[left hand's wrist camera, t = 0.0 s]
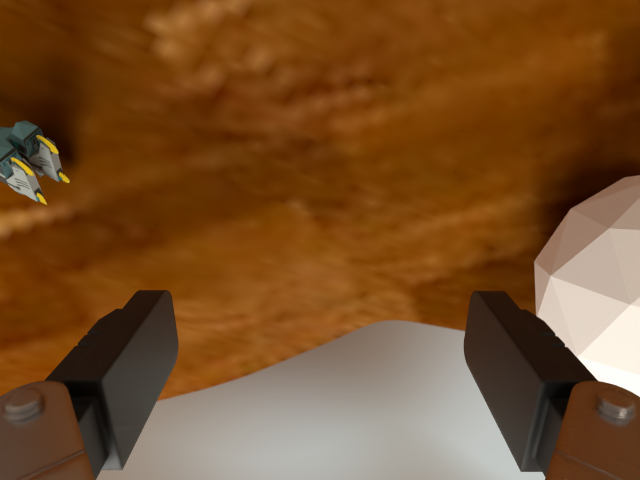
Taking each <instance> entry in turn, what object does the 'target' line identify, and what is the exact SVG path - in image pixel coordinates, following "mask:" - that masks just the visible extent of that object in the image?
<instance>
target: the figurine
mask: <svg viewBox="0 0 640 480" xmlns="http://www.w3.org/2000/svg"><path fill="white" fill-rule="evenodd" d="M58 154H59V153H58V150H57V149H56V146H55V143H54V142H53V141H51V140H50V139H49V138H46V139H45V138H44V136H43V133H42V130H41V128H40V127H38V126H36V125H34V124H32V123H30V122H28V121H21V122H16V124H15V126H14V127H0V181H2V182H4V183H5V184H7V185H9V186H10V187H11V188H13V189H14V190H15V191H16V192H18V193H19V194H20V195H21V194H25V195H27V196H28V197H30V198H32V199H34V200H35V201H37V202H38V201H40V202H42V203H44V204H46V201H45V199H44V197H43V196H44V195H43V193H42V191H41V188H40V186H39V184H38V181H37V179H36V177H35V174H34V172H33V170H32V168H33V169H34V171H35V172H36V173H37V174H38V175H39V176H40V177H41V176H42V175H44V174H45V175H47V176H49V177H51V178H52V179H54V180H56V181H58V182H59V181H60V180H62V181H64V182H66V183H70V182H69V180H68V178H67V177H66V176H65V175H64V173H63V171H62V167H61V164H60V160H59V156H58ZM46 205H47V204H46Z"/></svg>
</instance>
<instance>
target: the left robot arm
mask: <svg viewBox="0 0 640 480" xmlns="http://www.w3.org/2000/svg"><path fill="white" fill-rule="evenodd" d="M177 355H178V336H177V329H176V322H175V315H174V309H173V302H172V297H171V294H170V292H169V291H167V290H139V291H137V292H136V293H135V294H134V296H133V297H132V298H131V299H130V300H129V301H128V303H127V304H126V305H125V306H124V307H123V309H116V310H114V311H112V312H111V313H109V314H108V315H106V316H104V317H103V318H101V319H99V320H98V321H97V323H96V324H95V325H94V326H93V327H92V328H91V329H90V330H89V331H88V334H87V335H85V336H84V337H83V338H82V339H81V340H80V341H79V343H78V346H75V347H74V348H73V349H72V350H71V352H70V353H69V354H68V355H67V356H66V357H65V358H64V359H63V360H62V362H61V363H60V364H59V365H58V366H57V367H56V368H55V369H54V371H53V372H52V373H51V374H50V375H49V376H48V377H47V378H46V379H45V381H39V382H34V383H30V384H26V385H23V386H21V387H18V388H16V389H13V390H11V391H9V392H7V393H6V394H4V395H2V396H1V397H0V480H96V478H97V477H98V475H99V473H100V471H101V470H122V469H123V467H124V465H125V464H126V461H127V459H128V457H129V455H130V453H131V451H132V449H133V447H134V445H135V443H136V441H137V439H138V437H139V435H140V433H141V431H142V429H143V427H144V425H145V423H146V421H147V419H148V417H149V415H150V413H151V411H152V409H153V407H154V405H155V403H156V401H157V399H158V397H159V395H160V393H161V391H162V389H163V387H164V385H165V383H166V381H167V379H168V377H169V375H170V373H171V371H172V369H173V367H174V365H175V363H176V360H177ZM464 355H465V360H466V363H467V365H468V367H469V370H470V372H471V373H472V375H473V377H474V379H475V381H476V383H477V385H478V387H479V389H480V391H481V393H482V395H483V397H484V399H485V401H486V403H487V405H488V407H489V409H490V411H491V413H492V415H493V417H494V419H495V421H496V423H497V425H498V427H499V429H500V431H501V433H502V435H503V437H504V439H505V441H506V443H507V445H508V447H509V449H510V451H511V453H512V455H513V457H514V459H515V461H516V463H517V465H518V467H519V469H520V471H521V472H543V474H544V475H545V477H546V478H545V480H640V397H639V396H638V395H636V394H634V393H633V392H631V391H629V390H627V389H624V388H622V387H619V386H617V385H614V384H610V383H606V382H601V381H598V380H597V379H596V378H595V377H594V376H593V374H592V373H591V372H590V371H589V370H588V369H587V368H586V367H585V366H584V365H583V363H582V362H581V361H580V360H579V359H578V358H577V357H576V356H575V355H574V353H573V352H572V351H571V350H570V349H569V348H568V347H565V344H564V342H563V341H562V340H561V339H560V338H559V337H558V336H556V335H555V332H554V331H553V330H552V329H551V328H550V327H549V326H548V325H547V324H546V322H545V321H544V320H542V319H540V318H539V317H537V316H535V315H534V314H532V313H531V312H529V311H527V310H520V309H519V307H518V306H517V305H516V304H515V303H514V301H513V300H512V299H511V298H510V297H509V296H508V294H507V293H506V292H504V291H474V292H473V293H472V295H471V298H470V304H469V311H468V318H467V324H466V331H465V338H464Z"/></svg>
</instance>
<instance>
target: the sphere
mask: <svg viewBox="0 0 640 480" xmlns="http://www.w3.org/2000/svg"><path fill="white" fill-rule="evenodd" d="M534 267H535V294H536V316H537V317H539V318H540V319H542V320H544V321H545V322H546V324H547V325H548V326H549V327H550V328H551V329H552V330H553V331H554V332H555V335H556V336H558V337H559V338H560V339H561V340H562V341H563V342H564V344H565V347H568V348H569V349H570V350H571V351H572V352H573V353H574V355H575V356H576V357H577V358H578V359H579V360H580V361H581V362H582V363H583V365H584V366H585V367H586V368H587V369H588V370H589V371H590V372H591V373H592V374H593V376H594V377H595V378H596V379H597V380H598V381H601V382H606V383H610V384H614V385H617V386H619V387H622V388H624V389H627V390H629V391H631V392H633V393H634V394H636V395H638V396H639V397H640V175H638V176H631V177H624V178H623V179H621V180H619V181H618V182H616V183H614V184H612V185H611V186H609V187H607V188H606V189H604V190H602V191H600V192H599V193H597V194H595V195H594V196H592V197H590V198H588V199H587V200H585V201H583V202H582V203H580V204H578V205H576V206H575V207H573V208H571V209H570V210H569V212H568V213H567V215H566V216H565V218H564V219H563V220H562V222H561V223H560V225H559V226H558V228H557V229H556V231H555V232H554V233H553V235H552V236H551V238H550V239H549V241H548V242H547V244H546V245H545V247H544V248H543V249H542V251H541V252H540V254H539V255H538V257H537V258H536V260H535V261H534Z"/></svg>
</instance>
